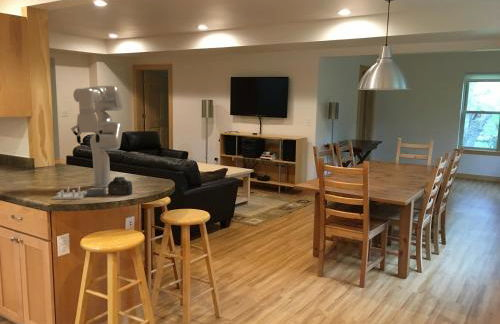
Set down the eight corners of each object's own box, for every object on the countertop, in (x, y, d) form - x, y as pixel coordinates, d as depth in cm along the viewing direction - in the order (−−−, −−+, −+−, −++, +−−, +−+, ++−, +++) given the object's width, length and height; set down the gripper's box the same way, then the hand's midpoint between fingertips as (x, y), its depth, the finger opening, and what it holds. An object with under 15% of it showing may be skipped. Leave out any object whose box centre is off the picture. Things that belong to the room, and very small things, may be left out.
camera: (133, 191, 241) (133, 174, 240) (131, 195, 232) (130, 178, 230) (110, 192, 239) (109, 175, 238) (106, 196, 230) (105, 178, 228)
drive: (89, 194, 234) (89, 187, 233) (106, 194, 235) (105, 187, 234) (87, 196, 229) (86, 189, 229) (103, 196, 230) (103, 189, 229)
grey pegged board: (61, 194, 234) (61, 186, 233) (88, 193, 235) (88, 186, 234) (52, 199, 222) (51, 191, 222) (80, 199, 223) (80, 190, 222)
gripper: (100, 111, 233) (101, 141, 235) (68, 111, 223) (69, 143, 225) (105, 111, 227) (106, 142, 230) (72, 111, 217) (74, 144, 219)
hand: (88, 142), depth 227 cm, fingers open, 9 cm apart
